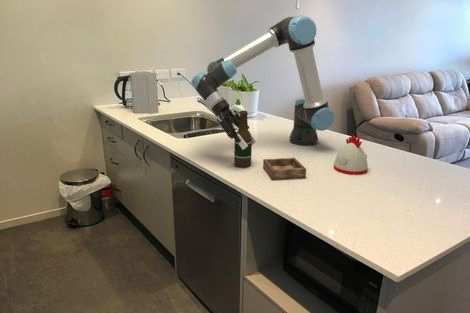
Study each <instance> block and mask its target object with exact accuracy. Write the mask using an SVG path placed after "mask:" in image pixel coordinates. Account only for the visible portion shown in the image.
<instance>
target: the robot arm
mask: <svg viewBox="0 0 470 313" xmlns="http://www.w3.org/2000/svg"><path fill="white" fill-rule="evenodd" d="M316 35H317V25H316V23H315V21H314V20H313V19H312V18H310V17H309V16H306V15H295V16H288V17H286V18H283V19H281V20H280V21H278V22H277V23H275V24H274V25H272V26H270V27H269V28H267V30H266V32H265V33H262V34H261V35H260V36H258V37H255V38H254V39H253V40H250V41H248V42H247V43H246V44H244V45H242V46H240V47H238V48H236V49H235V50H233V51H231V52H230V53H228V54H226V55H224V56H222V57H221V58H219V59H218V60H215V61H212V62H209V63H208V64H207V67H206V72H207V73H205V72H203V71H201V72H199V73H197V74H196V75H195V76H193V77H192V79H191V85H192V86H193V88H194V90H195V91H196V92H197V93H198V94H199V96H200V97H201V98H202V100H203V101H204V102H205V103H206V105H207V106H208V107H209V109H211V111H212V113H214V115H215V116H217V118H216V119H215V120H216V121H217V122H218V123H219V124H220V126H221V128H222V129H223V131H224V132H225V133H226V135H227V137H228V138H230V139H231V140H232V139H234V141H235V140H236V142H237V143H238V144H239V145H240V147H241V148H242V149H243V150H244V149H245V148H246V147H247V146H248V145H247V144H246V143H245V141H244V140H243V139H242V137H241V136H240V135H239V134H237V133H236V132H237V131H236V129H235V127H237V128H238V129H239V122H240V114H239V113H238V112H237V111H236V110H231V109H230V106H231V105H230V104H229V103H228V101H227V100H226V99H225V98H224V96H223V94H222V93H221V92H220V91H219V90H218V88H220V87H221V86H222V85H224V84H225V83H227V81H229V80H230V79H233V77H234V76H235V75H236V74H237V73H238V72H237V68H239V67H241V66H242V65H244V64H247V63H249V62H250V61H251V60H253V59H255V58H257V57H258V56H260V55H263V54H264V53H266V52H267V51H269V50H271V49H272V48H279V47H281V46H283V45H285V44H286V45H287V44H288V45H287V46H288V49H289V51H290V52H291V53H292V54H293V56H294V58H295V63H296V68H297V71H298V76H299V80H300V84H301V88H302V93H303V96H304V98H300V99H296V100H295V101H294V102H295V103H294V110H293V111H294V114H293V115H294V116H293V127H292V130H291V132H290V135H289V141H288V142H290V143H291V144H294V145H297V146H298V145H299V146H314V145H317V144H318V143H319V137H318V132H317V131H319V132H322V131H326V130H328V129H330V128H331V127H332V124H334V122H335V117H336V116H335V113H334V110H332V108H330V107H329V102H328V99H327V98H326V97H324V95H323V90H322V85H321V82H320V81H321V80H320V77H319V72H318V71H319V70H318V68H317V63H316V59H315V58H316V57H315V53H314V46H316V40H315V38H316ZM234 126H235V127H234ZM249 129H250V126H249V125H248V130H249ZM250 134H251V138H252V146H253V145H254V144H255V143H257V140H256V138H255V137H254V135H252V133H251V132H250Z"/></svg>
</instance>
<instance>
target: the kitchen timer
mask: <svg viewBox="0 0 470 313" xmlns="http://www.w3.org/2000/svg"><path fill="white" fill-rule="evenodd" d="M360 140H361V137H357V135H356V136H354V135H353V134H352V135H351V136H349V137H348V138H345V142H346V144H345V145H344V146H343V147H342V148H341V149H339V151H338V153H337V154H336V157H335V159H334V162H333V169H334V170H335V171H336V172H338V173H340V174H344V175H348V176H361V175H365V174H367V172H368V168H369V167H368V165H369V164H368V154H367V153H366V152H365V151H364V149H363V148H362V146H361V145H362V143H363V141H360Z"/></svg>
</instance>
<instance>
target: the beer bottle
mask: <svg viewBox="0 0 470 313" xmlns="http://www.w3.org/2000/svg"><path fill="white" fill-rule="evenodd" d="M238 115H239V116H240V122H239V128H238V130H237V131H236V133H237V134H239V135H240V136H241V137H242V139H243V140H244V141H245V143H246V144H247V145H248V146H247V147H246V148H245V149H244V150H243V149H242V148H241V147H240V145H239V144H238V143H237V142H236V140H235V139H234V146H233V147H234V150H233V151H234V152H233V153H234V158H233V159H234V166H235V167H237V168H241V169H242V168H243V169H244V168H245V169H246V168H249V167H251V165H252V151H253V150H252V146H253V145H252V138H251V134H252V133H251V132H250V131H249V129H248V126H249V124H248V121H249V120H248V115H249V113H248V111H247V110H240V111H239V113H238ZM250 133H251V134H250Z"/></svg>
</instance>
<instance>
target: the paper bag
mask: <svg viewBox="0 0 470 313" xmlns="http://www.w3.org/2000/svg"><path fill="white" fill-rule="evenodd" d="M129 74H130V77H129V78H130V87H131V98H132V112H133V114H136V115H138V114H140V115H141V114H142V115H143V114H159V113H160V112H159V97H158V83H157V73H156V72H151V71H145V70H141V71H140V70H138V71H135V72H134V71H133V72H130V73H129Z"/></svg>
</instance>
